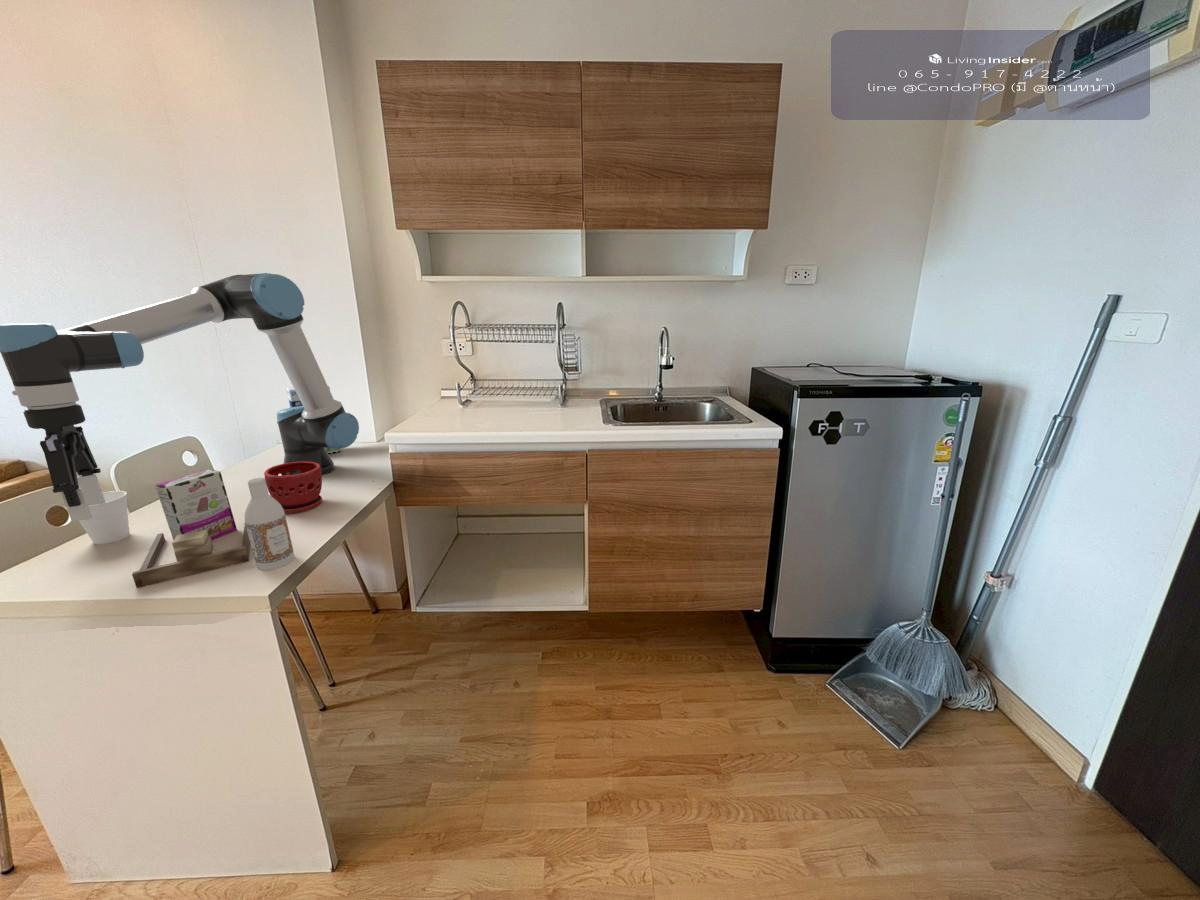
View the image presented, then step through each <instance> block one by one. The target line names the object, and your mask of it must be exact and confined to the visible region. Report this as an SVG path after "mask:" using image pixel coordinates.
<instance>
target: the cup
mask: <svg viewBox="0 0 1200 900" xmlns="http://www.w3.org/2000/svg"><path fill="white" fill-rule="evenodd" d="M102 494H103V496H104V499H105V503H103V504H96V505H90V506H88V507H89V509H90V512H91V515H92V518H91V519H86V520H80V521H78V522H79V524H80V525H81V526H82V528H83V529H84V531H85V532H86V534H87V535H88V537H89V538H90V539H91V540H90V541H91V542H92V543H93V544H94V545H106V544H111V543H115V542H118V541H121V540H124V539H126V538H128V537H129V536H130V535H131V533H130V526H129V525H130V524H129V515H128V514H129V513H128V500H127V495H128V492H127V491H125V490H124V491H123V490H112V491H111V490H109V491H104V492H103V491H102Z"/></svg>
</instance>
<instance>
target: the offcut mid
mask: <svg viewBox="0 0 1200 900" xmlns="http://www.w3.org/2000/svg"><path fill="white" fill-rule="evenodd" d="M213 546H214V545H213V540H211V538H210V537H209V539H208V541H207V543H206V545H205V546H201V547H195V548H190V549H185V550H180V551H174V552H173V553H174V556H175V559H176V561H177V562H178V561H183V560H187V559H192V558H196V557H200V556H205V555H209V554H212V550H213Z"/></svg>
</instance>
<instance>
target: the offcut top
mask: <svg viewBox="0 0 1200 900" xmlns="http://www.w3.org/2000/svg"><path fill="white" fill-rule="evenodd" d="M208 539H209V536H208V532H207V530H203V531H197V532H192V533H186V534H180V535H177V536H176V538H175V539H174V540H173V541H172V542H171V545H172V547H173V550H174V552H175V551H180V550H185V549H190V548H195V547H201V546H205V545H206V543H207V541H208Z"/></svg>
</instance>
